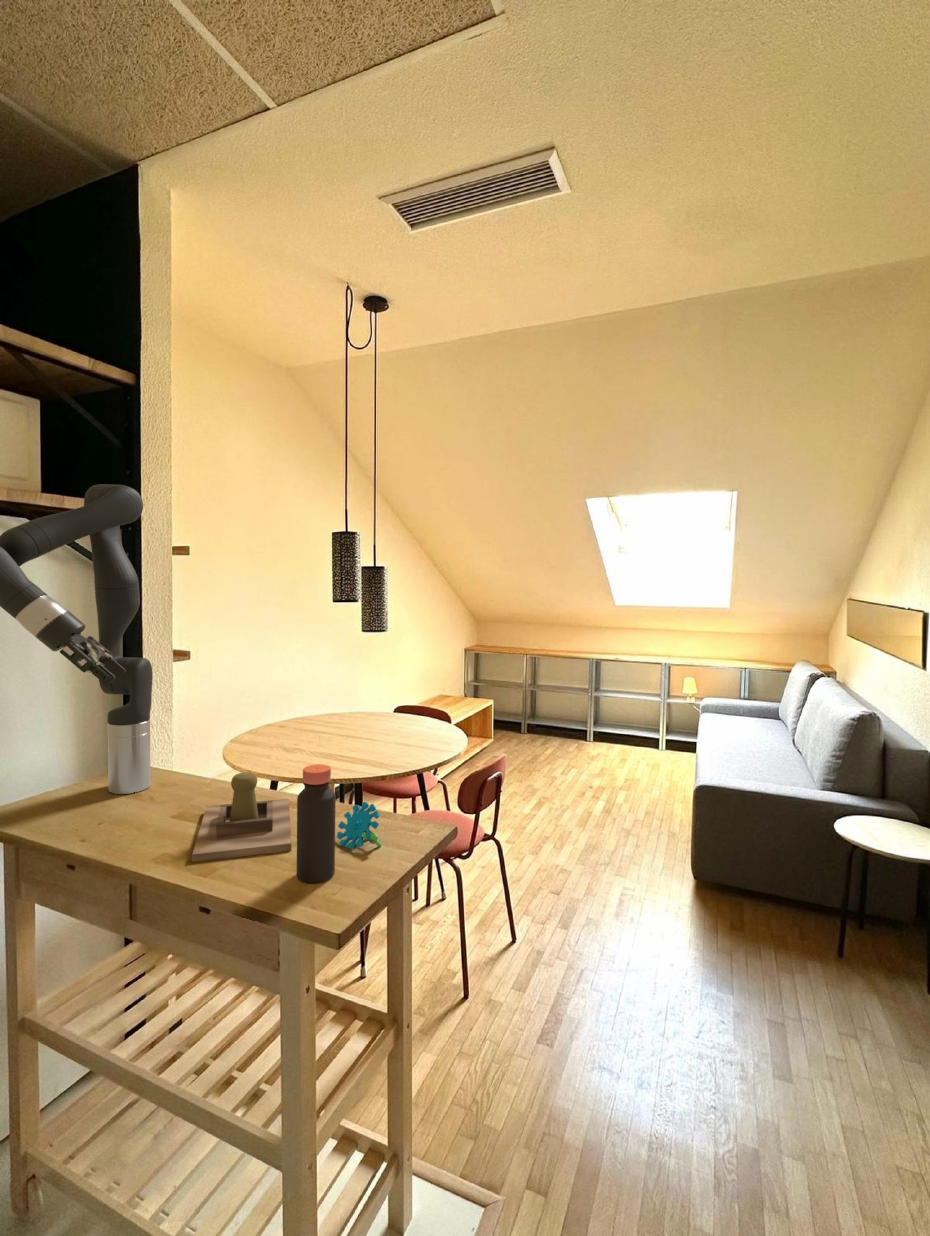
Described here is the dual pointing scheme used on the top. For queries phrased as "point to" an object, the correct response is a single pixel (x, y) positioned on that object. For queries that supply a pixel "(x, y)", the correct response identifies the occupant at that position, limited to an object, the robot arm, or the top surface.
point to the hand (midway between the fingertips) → (117, 677)
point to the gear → (359, 826)
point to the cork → (244, 797)
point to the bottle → (316, 826)
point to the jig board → (243, 832)
